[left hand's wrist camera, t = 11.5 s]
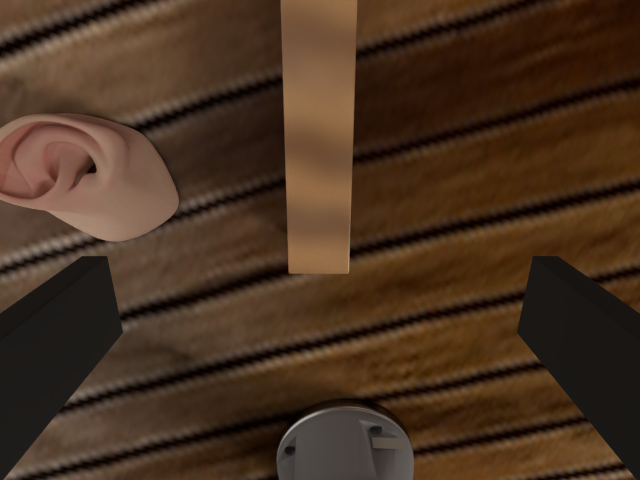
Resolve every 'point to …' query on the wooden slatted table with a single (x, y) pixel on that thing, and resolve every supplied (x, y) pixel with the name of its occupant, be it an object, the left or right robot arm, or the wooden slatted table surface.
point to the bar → (318, 131)
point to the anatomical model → (86, 174)
